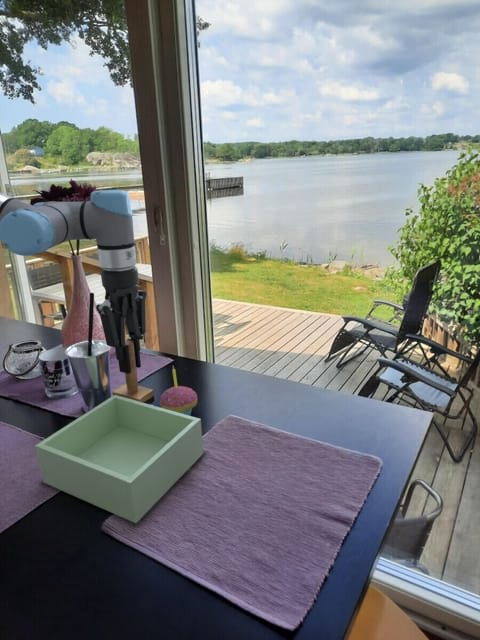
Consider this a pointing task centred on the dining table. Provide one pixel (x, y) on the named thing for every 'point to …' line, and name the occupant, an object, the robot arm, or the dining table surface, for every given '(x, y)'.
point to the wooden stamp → (134, 382)
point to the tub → (121, 455)
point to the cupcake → (178, 398)
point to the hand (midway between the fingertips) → (130, 368)
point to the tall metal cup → (91, 367)
